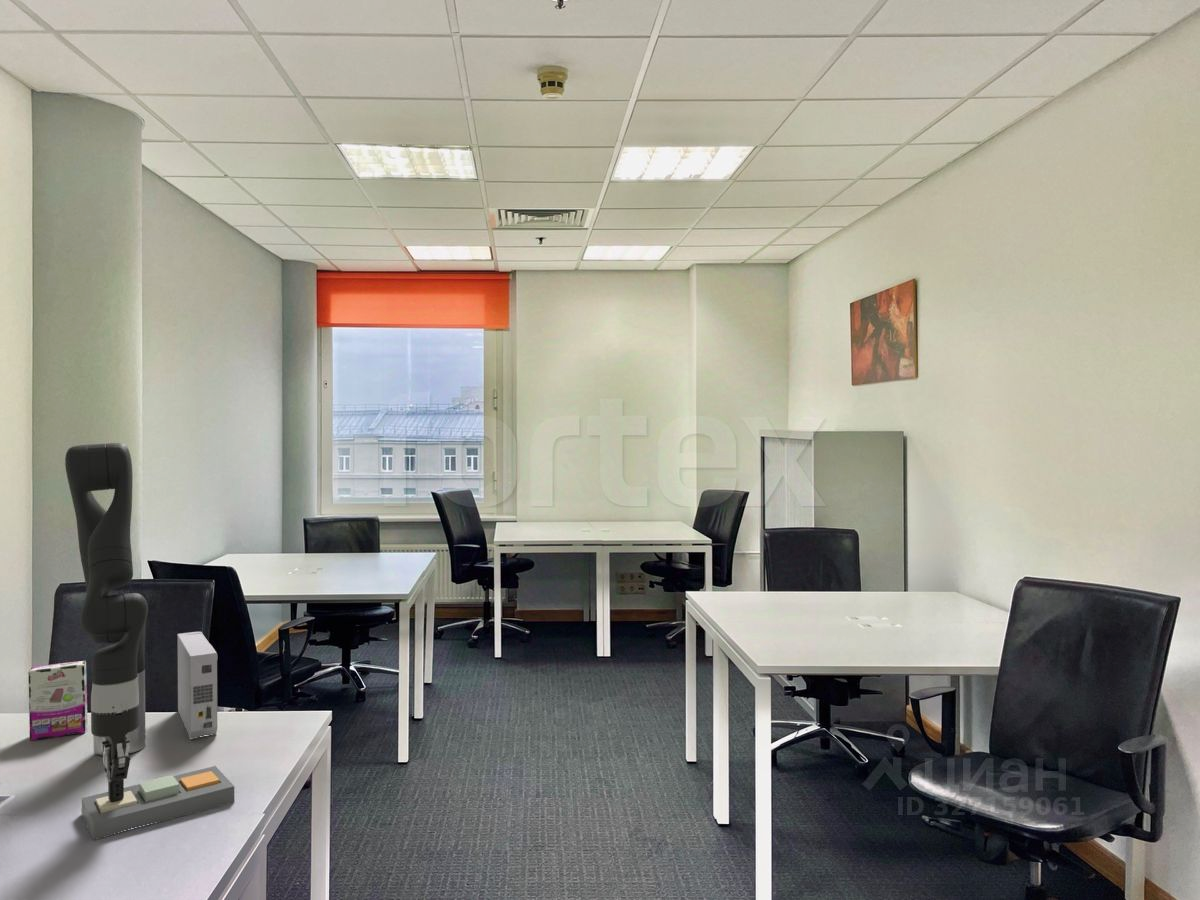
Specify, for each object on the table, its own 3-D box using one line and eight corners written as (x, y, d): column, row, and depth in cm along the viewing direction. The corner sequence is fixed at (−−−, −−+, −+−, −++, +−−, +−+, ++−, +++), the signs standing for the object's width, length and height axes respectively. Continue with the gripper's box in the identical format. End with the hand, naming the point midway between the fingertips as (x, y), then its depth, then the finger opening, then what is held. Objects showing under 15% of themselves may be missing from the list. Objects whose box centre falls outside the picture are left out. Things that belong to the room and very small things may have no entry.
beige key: (101, 820, 143) (101, 809, 143) (95, 809, 147) (95, 799, 147) (136, 811, 147) (136, 800, 147) (130, 801, 151) (130, 790, 151)
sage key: (145, 803, 147) (145, 792, 147) (139, 793, 152) (139, 782, 152) (179, 794, 151) (179, 784, 151) (172, 785, 155) (172, 774, 155)
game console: (202, 707, 211) (202, 630, 211) (218, 737, 188) (218, 652, 188) (178, 711, 208) (177, 633, 208) (191, 742, 185) (190, 656, 185)
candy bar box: (87, 727, 196) (87, 659, 196) (85, 733, 192) (85, 664, 192) (32, 734, 191) (31, 665, 191) (28, 741, 187) (28, 670, 187)
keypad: (93, 840, 139) (93, 822, 139) (81, 814, 149) (81, 798, 149) (234, 801, 154) (234, 786, 154) (215, 780, 164) (215, 765, 164)
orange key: (187, 798, 152) (187, 787, 152) (180, 788, 156) (180, 778, 156) (219, 790, 156) (219, 779, 156) (211, 780, 160) (211, 770, 160)
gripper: (85, 700, 149) (86, 794, 149) (97, 718, 139) (98, 818, 139) (131, 692, 154) (132, 783, 154) (146, 709, 144) (147, 806, 144)
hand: (116, 799), depth 147 cm, fingers closed
